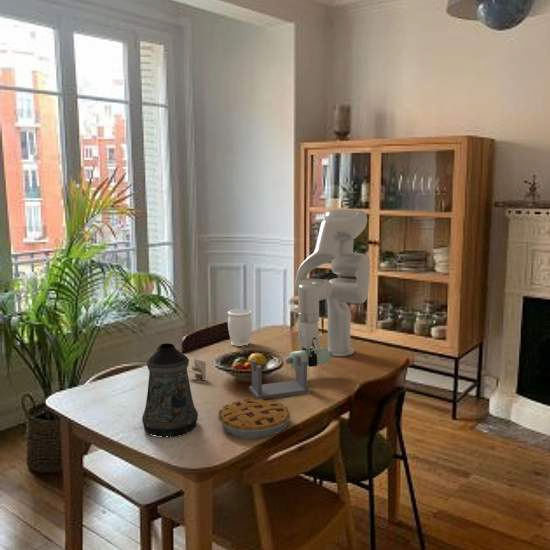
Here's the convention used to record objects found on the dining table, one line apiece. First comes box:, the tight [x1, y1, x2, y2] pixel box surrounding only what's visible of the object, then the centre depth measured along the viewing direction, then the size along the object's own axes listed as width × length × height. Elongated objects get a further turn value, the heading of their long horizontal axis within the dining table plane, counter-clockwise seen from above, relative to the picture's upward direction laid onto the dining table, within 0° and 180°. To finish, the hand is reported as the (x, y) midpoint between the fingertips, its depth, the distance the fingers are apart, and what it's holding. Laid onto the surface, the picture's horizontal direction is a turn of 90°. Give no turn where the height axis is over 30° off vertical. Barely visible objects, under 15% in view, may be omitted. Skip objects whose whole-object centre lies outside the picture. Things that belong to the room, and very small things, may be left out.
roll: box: [285, 346, 334, 369], centre depth 217 cm, size 6×18×6 cm, turn 109°
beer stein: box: [141, 342, 199, 438], centre depth 175 cm, size 16×19×25 cm
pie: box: [217, 398, 291, 439], centre depth 176 cm, size 22×22×5 cm
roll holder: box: [248, 355, 311, 400], centre depth 202 cm, size 10×19×11 cm, turn 109°
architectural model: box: [187, 358, 207, 381], centre depth 216 cm, size 3×7×7 cm, turn 52°
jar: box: [227, 308, 253, 347], centre depth 258 cm, size 11×10×15 cm
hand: (309, 362), depth 217 cm, fingers closed on roll, 6 cm apart
